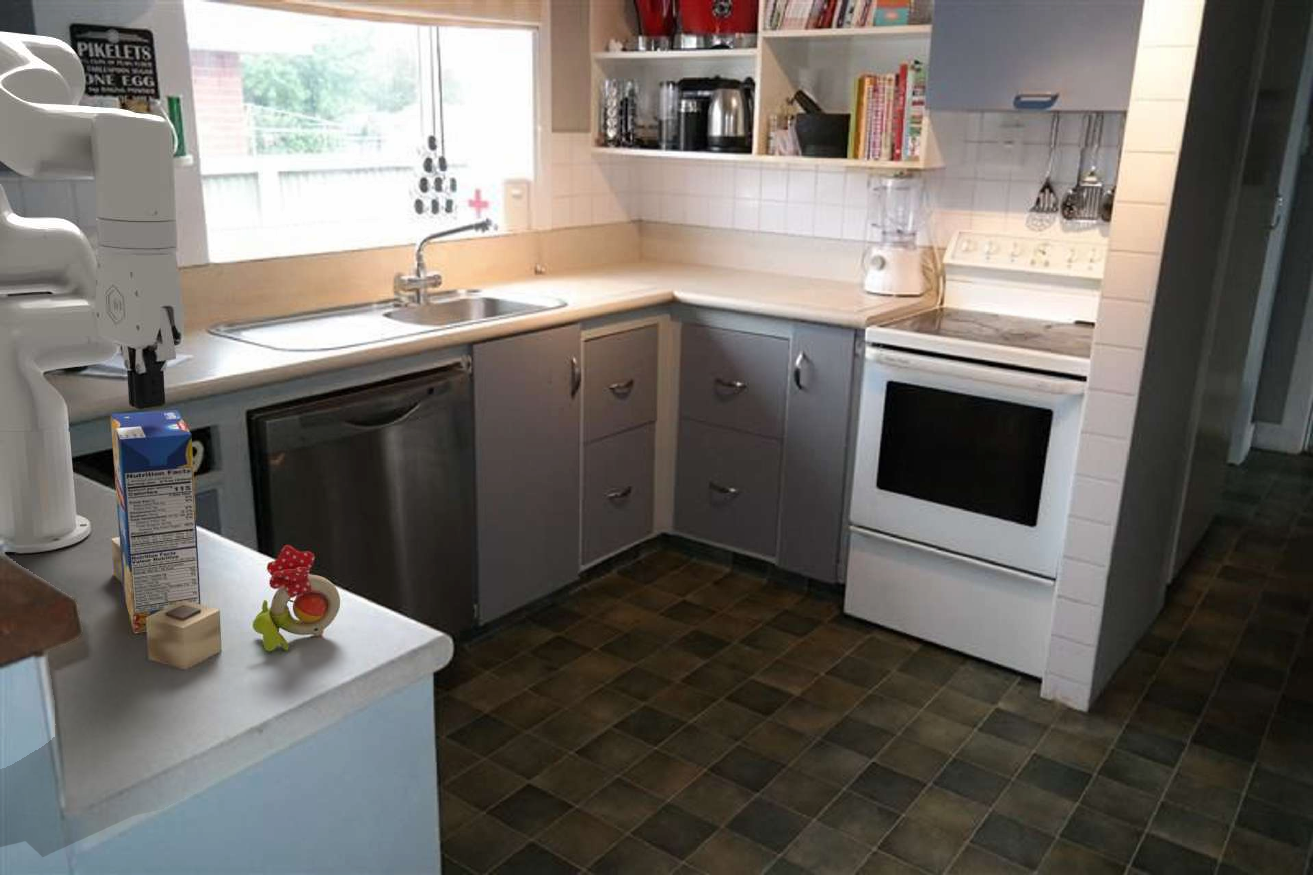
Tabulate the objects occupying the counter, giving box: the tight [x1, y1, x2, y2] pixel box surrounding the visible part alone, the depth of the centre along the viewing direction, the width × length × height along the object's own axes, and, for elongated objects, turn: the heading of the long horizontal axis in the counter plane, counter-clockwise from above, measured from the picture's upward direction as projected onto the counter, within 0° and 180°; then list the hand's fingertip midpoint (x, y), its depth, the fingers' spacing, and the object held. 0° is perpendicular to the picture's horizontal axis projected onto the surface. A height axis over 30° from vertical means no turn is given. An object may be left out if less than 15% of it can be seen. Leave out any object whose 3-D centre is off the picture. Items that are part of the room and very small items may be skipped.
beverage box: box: [110, 409, 202, 633], centre depth 120 cm, size 7×11×22 cm, turn 31°
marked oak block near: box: [146, 600, 222, 670], centre depth 112 cm, size 5×5×5 cm
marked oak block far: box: [110, 536, 123, 584], centre depth 130 cm, size 5×5×5 cm
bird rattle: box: [252, 544, 341, 652], centre depth 117 cm, size 6×11×9 cm
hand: (147, 405), depth 117 cm, fingers closed
